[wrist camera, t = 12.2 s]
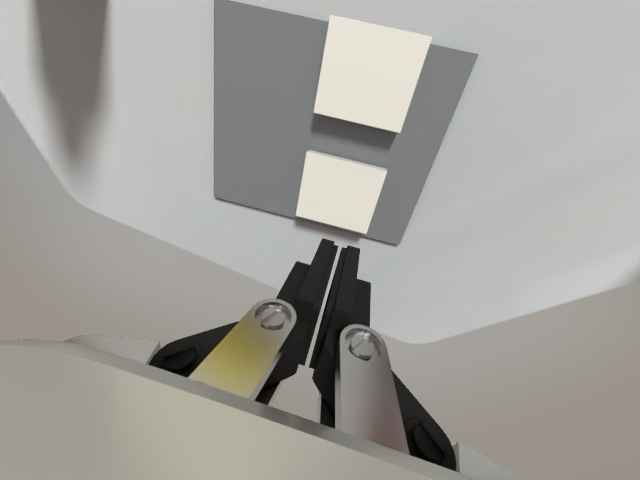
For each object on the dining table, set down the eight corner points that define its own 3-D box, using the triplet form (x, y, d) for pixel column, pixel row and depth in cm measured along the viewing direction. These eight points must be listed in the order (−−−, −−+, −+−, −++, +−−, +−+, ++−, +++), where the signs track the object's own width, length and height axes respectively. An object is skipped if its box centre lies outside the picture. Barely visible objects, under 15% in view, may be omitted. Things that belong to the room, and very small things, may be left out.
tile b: (387, 171, 20) (306, 151, 21) (366, 233, 23) (295, 215, 23) (385, 168, 22) (310, 149, 22) (366, 227, 25) (299, 210, 25)
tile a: (432, 36, 16) (330, 14, 16) (400, 133, 19) (313, 112, 19) (427, 43, 18) (333, 22, 18) (397, 132, 20) (316, 112, 21)
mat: (476, 55, 18) (478, 54, 17) (398, 243, 25) (398, 245, 25) (216, -1, 19) (214, -3, 18) (215, 195, 26) (213, 196, 26)
